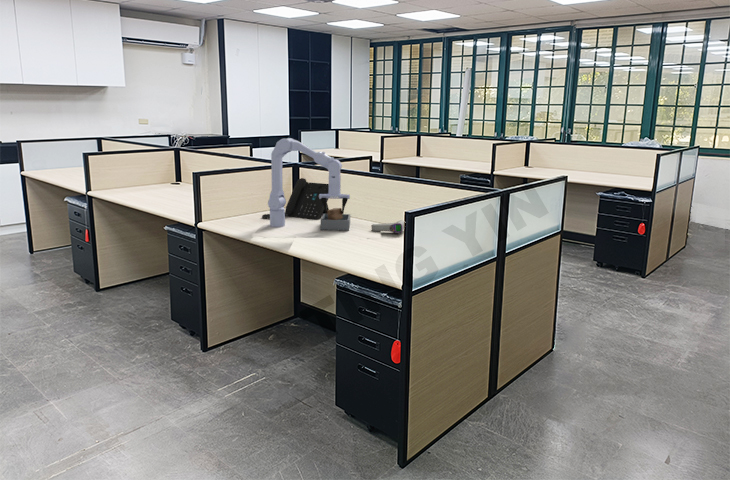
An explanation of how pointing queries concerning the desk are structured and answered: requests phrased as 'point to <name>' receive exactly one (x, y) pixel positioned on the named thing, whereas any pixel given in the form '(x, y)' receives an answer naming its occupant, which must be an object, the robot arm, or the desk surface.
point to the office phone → (305, 200)
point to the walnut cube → (335, 214)
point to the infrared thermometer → (389, 227)
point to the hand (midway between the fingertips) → (334, 213)
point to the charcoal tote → (335, 223)
